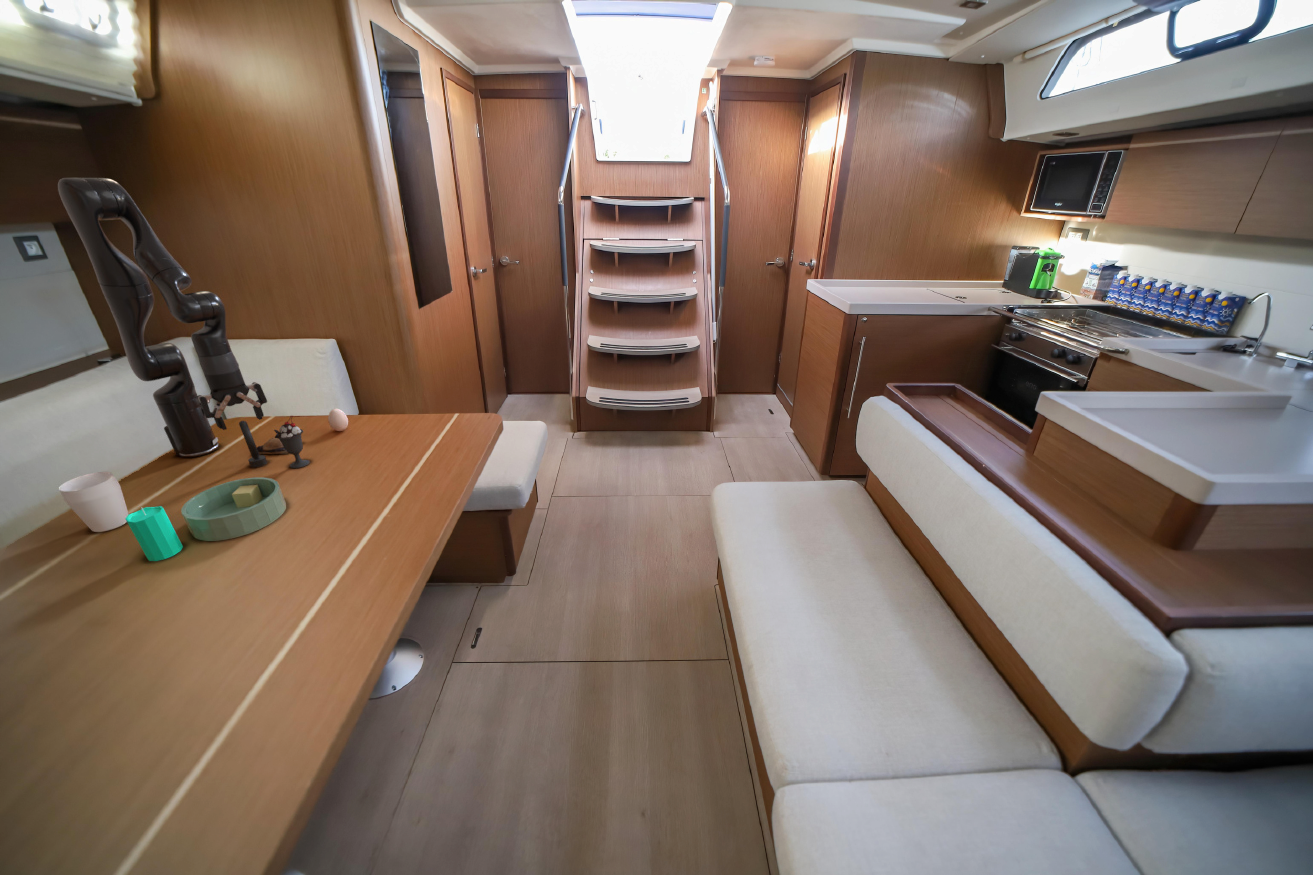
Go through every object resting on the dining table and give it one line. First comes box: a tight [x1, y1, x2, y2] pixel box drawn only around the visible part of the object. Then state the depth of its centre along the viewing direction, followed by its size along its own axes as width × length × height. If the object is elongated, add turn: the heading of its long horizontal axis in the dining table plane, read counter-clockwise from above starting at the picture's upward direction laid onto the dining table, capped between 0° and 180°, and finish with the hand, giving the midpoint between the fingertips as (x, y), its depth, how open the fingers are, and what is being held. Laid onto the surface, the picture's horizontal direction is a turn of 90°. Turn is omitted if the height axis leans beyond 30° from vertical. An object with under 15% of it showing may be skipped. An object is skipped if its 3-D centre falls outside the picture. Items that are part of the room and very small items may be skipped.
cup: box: [58, 471, 130, 533], centre depth 117 cm, size 9×9×12 cm
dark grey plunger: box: [238, 420, 268, 469], centre depth 144 cm, size 4×4×14 cm
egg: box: [327, 408, 349, 432], centre depth 166 cm, size 6×6×8 cm
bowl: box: [180, 476, 287, 542], centre depth 122 cm, size 19×19×6 cm
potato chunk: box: [232, 485, 263, 508], centre depth 127 cm, size 4×4×4 cm
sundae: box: [273, 415, 310, 469], centre depth 144 cm, size 7×7×15 cm
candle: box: [126, 505, 184, 562], centre depth 108 cm, size 6×6×12 cm
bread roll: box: [256, 437, 289, 455], centre depth 155 cm, size 11×8×4 cm
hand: (242, 423), depth 141 cm, fingers open, 8 cm apart
